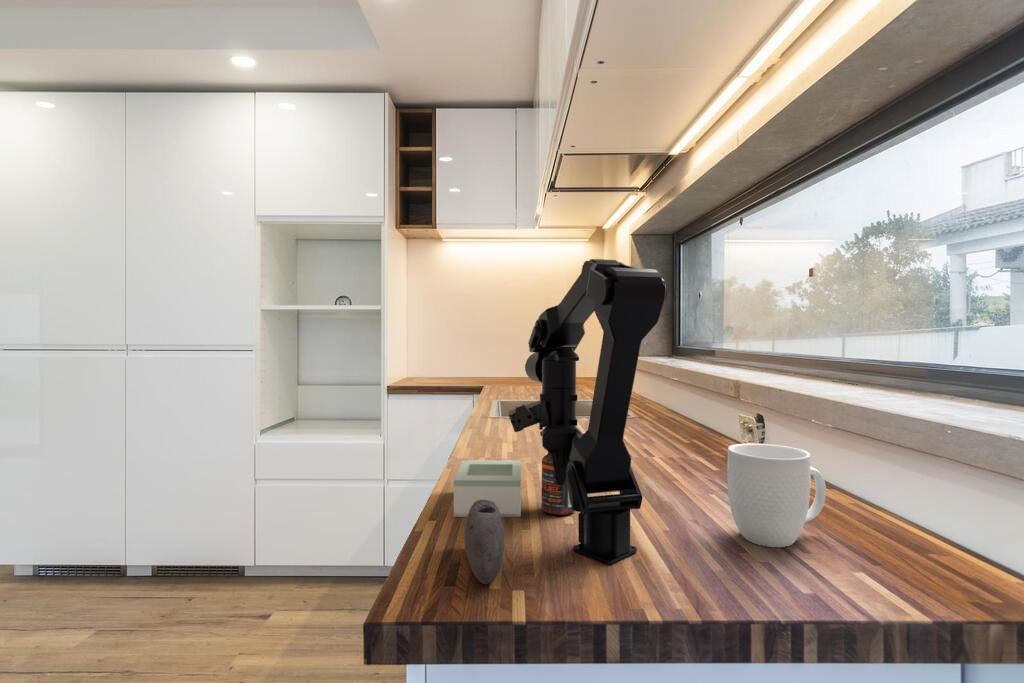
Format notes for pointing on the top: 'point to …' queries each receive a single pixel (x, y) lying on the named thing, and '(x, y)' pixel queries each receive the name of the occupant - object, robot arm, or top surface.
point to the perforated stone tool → (484, 540)
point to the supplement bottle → (553, 490)
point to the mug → (772, 492)
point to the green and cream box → (488, 486)
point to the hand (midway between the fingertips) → (558, 479)
